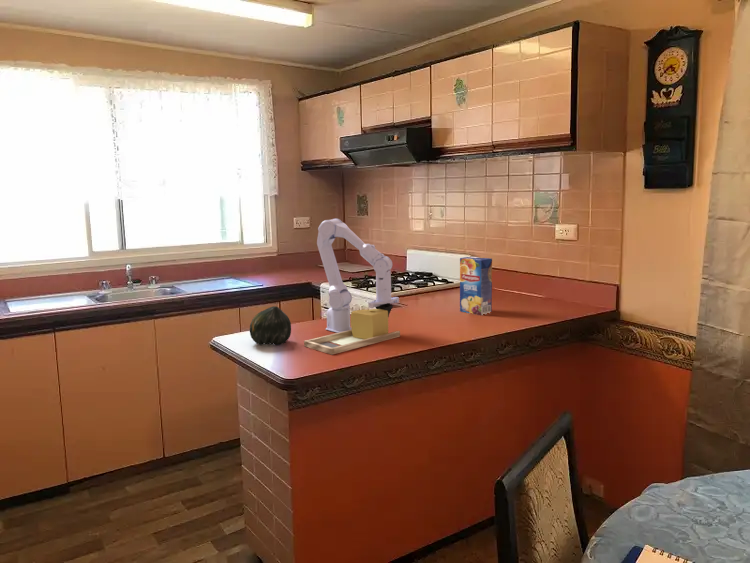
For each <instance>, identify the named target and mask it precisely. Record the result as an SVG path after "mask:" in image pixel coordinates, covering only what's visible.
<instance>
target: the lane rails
mask: <svg viewBox="0 0 750 563" xmlns="http://www.w3.org/2000/svg"><path fill="white" fill-rule="evenodd" d="M352 335H353V334H352V330H348V331H343V332H339V333H337V332H334V333H331V334H328V335H322V336H320V337H319V336H318V337H315V338H310V339H306V340H303V346H304V347H306V348H309V349H312V350H315V351H319V352H321V353H325V354H329V355H335V354H336V355H337V354H339V353H343V352H347V351H351V350H355V349H358V348H359V349H360V348H361V347H362V348H363V347H366V346H370V345H373V344H377V343H380V342H385V341H388V340H392V339H396V338H400V337H401V331H400V330H396V331H392V332H388V333H387V334H384V335H380V336H376V337H372V338H368V339H364V340H360V341H356V342H352V343H349V344H345V345H339V346H337V347H333V348H331V347H328V346H325V345H321V344H319V343H324V342H329V341H332V340H336V339H340V338H344V337H348V336H352Z"/></svg>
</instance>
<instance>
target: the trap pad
mask: <svg viewBox="0 0 750 563" xmlns="http://www.w3.org/2000/svg"><path fill="white" fill-rule="evenodd" d="M319 344H321V345H325V346H328V347H331V348H333V347H337V346H340V345H339V344H335V343H332V342H329V341H328V342H324V343H319Z"/></svg>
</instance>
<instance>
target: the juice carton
mask: <svg viewBox="0 0 750 563" xmlns="http://www.w3.org/2000/svg"><path fill="white" fill-rule="evenodd" d="M492 283H493V258H489V257H488V258H487V257H479V256H465V257H460V258H459V312H460V311H461V312H462V313H465V312H466V314H470V313H472V314H471V315H476V314H477V315H476V316H484V315H483V314H485V315H488V314H487V313H489V314H491V313H490V312H492V310H493V309H492V305H493V304H492V302H493V301H492V299H493V298H492V297H493V289H492V288H493V284H492Z"/></svg>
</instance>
